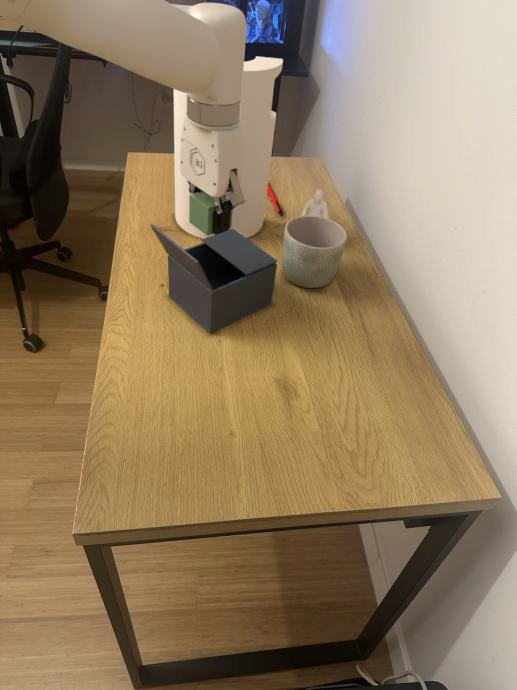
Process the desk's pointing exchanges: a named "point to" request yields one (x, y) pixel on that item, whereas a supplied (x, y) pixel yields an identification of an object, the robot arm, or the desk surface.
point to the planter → (312, 250)
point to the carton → (223, 280)
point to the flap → (182, 257)
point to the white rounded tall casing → (255, 148)
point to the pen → (274, 201)
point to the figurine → (316, 206)
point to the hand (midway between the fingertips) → (210, 222)
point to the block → (203, 211)
